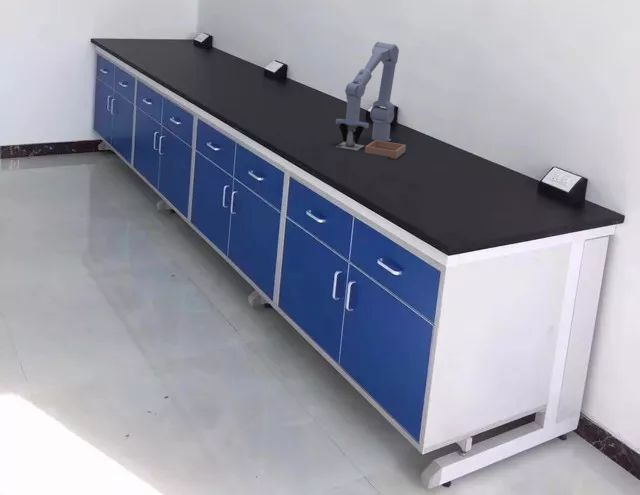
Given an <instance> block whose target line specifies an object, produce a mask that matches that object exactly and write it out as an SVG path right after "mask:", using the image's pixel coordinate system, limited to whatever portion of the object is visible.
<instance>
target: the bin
mask: <svg viewBox="0 0 640 495" xmlns="http://www.w3.org/2000/svg"><path fill="white" fill-rule="evenodd" d="M406 146H407V144H402V143H397V142H390V141H378V140H373V141H371V142H370V143H368V144H367V145H364V147H365V148H364V154H371V155H377V156H383V157H387V159H388V160H389V159H390V160H391V159H392V160H398V159H399V158H400V157H401V156H403V155H405V153H406Z"/></svg>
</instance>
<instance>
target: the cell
mask: <svg viewBox="0 0 640 495" xmlns="http://www.w3.org/2000/svg"><path fill="white" fill-rule="evenodd" d="M355 138H356V129H355V128H348V129H347V136H346V141H345V143H346V146H347V147H355V144H356V143H355Z"/></svg>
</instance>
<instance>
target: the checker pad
mask: <svg viewBox="0 0 640 495" xmlns="http://www.w3.org/2000/svg"><path fill="white" fill-rule="evenodd" d="M363 147H365V145H362V144H358V143H357V144H356V143H355V147H347V146H346V141H345V142H341V143H339V144H337V145H336V146H335V148H341V149H346V150H347V149H348V150H354V151H359V150H360V149H361V148H363Z"/></svg>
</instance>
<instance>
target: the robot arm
mask: <svg viewBox="0 0 640 495" xmlns="http://www.w3.org/2000/svg"><path fill="white" fill-rule="evenodd" d="M399 53H400V50H399V47H398V45H396V44H394V43H393V44H391V43H386V42H380V41H377V42H376V43H375V44H374V46H373V47H372V55H371V56H370V58H369V60H368V62H367V63H366V65H365V67H364V68H362V69H359V71H358V73H357V75H356V76H355V77H354V79H353V80H352V81H351V82H349V83H348V84H347V85H346V88H345V89H344V90H345V91H344V92H345V95H346V100H347V101H346V111H345V112H346V114H345V119H344V118H336V119H335V124H336V125H339V129H340V132H341V135H342V141H343V142H345V143H346V136H347V130H348V129H349V127H350V126H351V127H355V128H354V130H356V138H355V144H358V143H359V140H360V138H361V135H362V133H363V131H364V130H365V129H369V128H370V127H369V126H370V123H368V122H365V121H364V122H363V121H361V120H360V114H361V102H362V97H363V96H364V94H365V91H366V89H367V88H366V86H367V85H368V84H369V82H370V81H371V79H372V77H373V76H372V73H373V71H375V69H376V68H377V66H379V64H380V63H381V62H382V65H383V67H382V73H381V78H380V86H379V91H378V92H379V93H378V99H377V100H375V101H374V102H373V103H372V107H371V109H370V115H369V116H370V119H371V121H372V122H373V123H372V134H371V140H373V141H375V140H378V141H384V142H390V141H392V138H390V135H391V133H390V132H391V123H392V122H393V121H394V118H395V105H394V104H392V103H391V95H392V91H393V90H392V89H393V85H394V84H393V83H394V78H395V72H396V64H397V63H398V59H399ZM343 142H342V143H343Z"/></svg>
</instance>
